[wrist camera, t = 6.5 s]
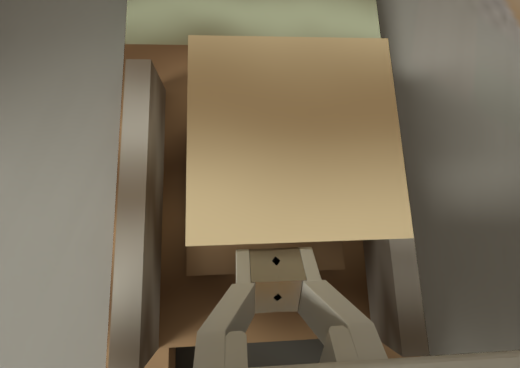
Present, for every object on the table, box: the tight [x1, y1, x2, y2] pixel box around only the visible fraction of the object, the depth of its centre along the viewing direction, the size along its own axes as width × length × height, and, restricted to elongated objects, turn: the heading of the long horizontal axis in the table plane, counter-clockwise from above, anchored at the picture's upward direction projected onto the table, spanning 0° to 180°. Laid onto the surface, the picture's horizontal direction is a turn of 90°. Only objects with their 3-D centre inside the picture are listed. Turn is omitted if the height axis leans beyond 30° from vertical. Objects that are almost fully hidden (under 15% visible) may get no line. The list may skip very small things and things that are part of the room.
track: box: [106, 0, 429, 368], centre depth 16 cm, size 37×16×5 cm, turn 2°
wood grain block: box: [185, 35, 414, 276], centre depth 12 cm, size 8×8×10 cm
